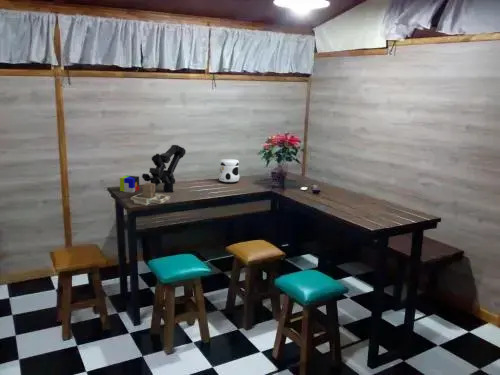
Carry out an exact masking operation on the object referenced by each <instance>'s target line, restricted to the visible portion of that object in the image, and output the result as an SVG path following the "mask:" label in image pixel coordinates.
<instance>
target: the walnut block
mask: <svg viewBox="0 0 500 375" xmlns="http://www.w3.org/2000/svg"><path fill="white" fill-rule="evenodd" d="M142 193H143V198H149V199H151V198H154V197H155V193H156V186H155V184H153V183H151V182H146V183H144V184H142Z"/></svg>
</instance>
